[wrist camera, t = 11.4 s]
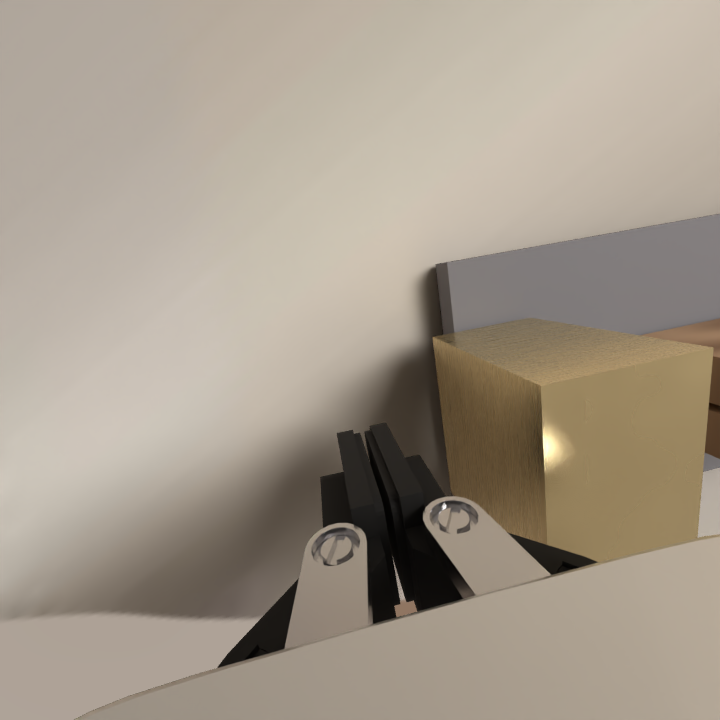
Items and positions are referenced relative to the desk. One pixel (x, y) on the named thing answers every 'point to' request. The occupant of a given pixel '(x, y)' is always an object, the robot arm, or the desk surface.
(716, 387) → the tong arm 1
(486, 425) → the tan block
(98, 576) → the desk surface
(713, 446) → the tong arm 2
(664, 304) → the tong mat
